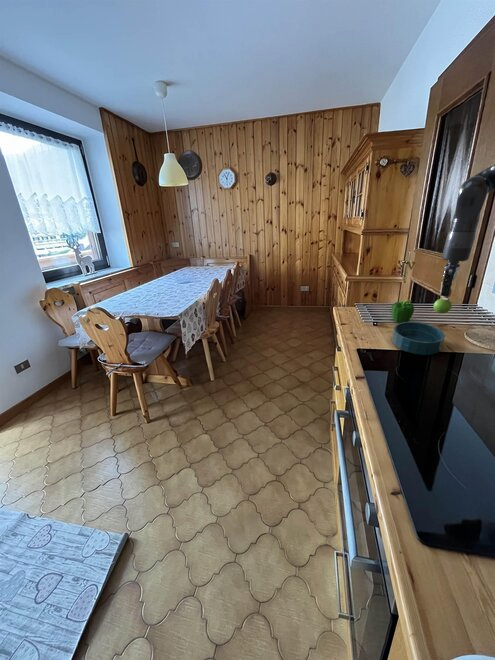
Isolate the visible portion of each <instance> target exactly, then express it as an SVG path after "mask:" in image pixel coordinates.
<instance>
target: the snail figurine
mask: <svg viewBox="0 0 495 660" xmlns="http://www.w3.org/2000/svg"><path fill="white" fill-rule="evenodd" d="M441 280H442V281H441V285H440V290H439V291H440V292H439V293H440V297H441V298H439V299H438V298H437V300H435V302H434V303H433V310H434V312H436V313H438V314H447V313H449V312H450V311H451V310H452V307H453V305H452V302H451V300H450V297H451V295H452V286H451V287H450V290H449V294H448V296H447V297H446V296H441V291H442V287H443V285H442V283H443V280H444V278H443V277H442V278H441Z"/></svg>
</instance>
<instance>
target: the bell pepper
mask: <svg viewBox="0 0 495 660" xmlns="http://www.w3.org/2000/svg"><path fill="white" fill-rule="evenodd" d="M414 312H415V306H414V304H413V303H412V300H411V299H406V300H404V301H403V300H401V301H399V302H397V301H395V302H394V303H393V305H392V306H391V317H392V320H393V321H394V322H395V323H396V324H399V323H403V322H410V320H411V318H412V316H413V314H414Z"/></svg>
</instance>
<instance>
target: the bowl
mask: <svg viewBox="0 0 495 660" xmlns="http://www.w3.org/2000/svg"><path fill="white" fill-rule="evenodd" d="M445 338H446V334H445V333H444V331H443V330H441V329H440V328H438V327H436V326H434V325H432V324H428V323H424V322H419V321H408V322H403V323H396V325H394V327H393V331H392V335H391V343H392V344H393V345H394V346H395V347H396V348H398V349H399V350H402V351H404V352H406V353H409V354H415V355H419V356H420V355H421V356H432V355H435V354H439V353H440V352H441V351H442V348H443V345H444V342H445Z"/></svg>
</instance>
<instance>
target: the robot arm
mask: <svg viewBox="0 0 495 660" xmlns="http://www.w3.org/2000/svg"><path fill="white" fill-rule="evenodd" d="M493 191H495V163H494V164H493V165H492V164H491V166H489V167H487V168H485V169H483V170H482V171H480V172H478V173H476V174H474V175H473V176H471V177H469V178H468V179H466V180H465V181H464V182H463V183H462V184H461V185H460V187H459V190H458V195H457V198H456V204H455V211H454V214H453V216H452V219H451V223H450V227H449V231H448V233H447V235H446V239H445V243H444V246H443V250H442V254H441V259H443V260H445V261H448V262H447V263H446V264H445V266H444V273H443V275H442V279H443V278H444V280H443V283H442V282H441V283H442V285H443V287H442V291H441V290H440V291H441V294H440V297H441V296H446V297H447V296H448V294H449V290H450V287H451V288H452V286H453V281H454V280H456V277H457V276H458V272H459V270H460V267H461V264H460V262H466V261H468V260H469V259H470V256H471V253H472V249H473V245H474V243H475V239H476V234H477V229H478V226H479V223H480V220H481V212H482V210H483V207H484V204H485V202H486V198H487V196H488V194H490V193H491V192H493Z"/></svg>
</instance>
